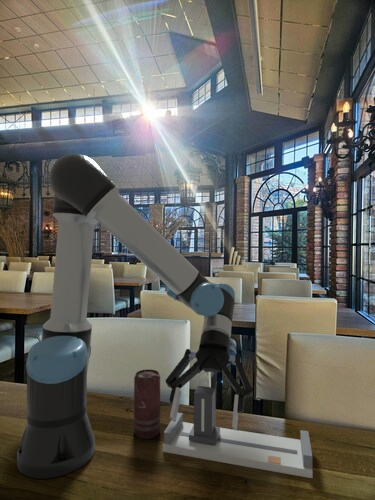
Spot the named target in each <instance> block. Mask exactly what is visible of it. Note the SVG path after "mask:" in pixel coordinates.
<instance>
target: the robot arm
mask: <svg viewBox="0 0 375 500" xmlns="http://www.w3.org/2000/svg"><path fill="white" fill-rule="evenodd" d="M49 185H50V187H51V190H52V191H53V193H54V196H53V207H52V209H53V210H52V216H53V217H54V218H55V220H57V222H58V225H57V226H58V227H57V237H56V248H55V249H56V251H55V259H54V260H55V262H54V273H53V281H52V283H53V285H52V296H51V306H50V318H49V319H48V320H47V321H46V322H45V323H43V325H42V331H41V332H42V333H41V340H40V341H37V342H36V343H35V344H33V345H32V346H31V347H30V348H29V351H28V352H27V359H26V362H25V368H26V425H25V427H24V430H23V434H22V437H21V440H20V443H19V446H18V449H17V452H16V466H17V467H16V468H17V470H18V471H19V472H20V473H21V474H22V475H24V476H25V477H28V478H32V479H39V480H40V479H53V478H58V477H62V476H66V475H68V474H70V473H72V472H74V471H77V470H78V469H80V468H82V467H83V466H85V465H86V464H87V463H88V462H89V461H90V460H91V458H92V457H93V455H94V453H95V451H96V447H95V446H96V440H95V439H96V438H95V433H94V432H93V429H92V425H91V421H90V419H89V416H88V413H87V411H88V410H87V405H88V402H87V400H88V399H87V397H88V396H87V393H88V391H87V390H88V389H87V387H88V386H87V385H88V383H87V382H88V381H87V380H88V369H89V362H90V357H91V355H92V345H91V342H92V330H93V329H92V328H93V325H92V323H90V321H89V320H88V318H87V317H88V316H87V315H88V305H89V303H88V302H89V293H90V284H91V283H90V282H91V281H90V280H91V270H92V260H93V259H92V258H93V257H92V256H93V246H94V237H95V236H94V235H95V226H96V225H97V224H98V223H99V224H100V225H101V226H102V227H103V228H104V229H105V230H106V231H108V233H110V234H111V235H112V237H114V238H115V239H116V240H117V241H118V242H119V243H120V244H121V245H123V247H125V248H126V249H127V250H128V251H129V252H130V253H131V254H132V255H133V256H134V257H136V258H137V259H138V261H140V262H141V263H142V264H143V265H144V266H145V267H146V268H147V269H149V271H151V272H152V273H153V275H155V276H156V277H157V278H158V279H159V280H160V281H161V282H162V283H163V284H164V285H166V291H165V292H166V295H167V296H168V297H170V298H172V299H173V300H174V301H178V302H180V303H182V304H183V305H185V306H186V307H188V308H190V309H191V310H192V311H193V312H194V313H195V314H197V315H198V316H202V317H204V318H203V323H202V328H201V329H202V330H201V335H200V340H199V345H198V350H197V351H192V350H191V349H190V348H186V349H185V351H184V354H183V357H182V358H181V359H180V361H179V362H178V363H177V365H176V366H175V367H174V369H173V370H172V371H171V372H170V373H169V375H168V376H167V378H165V383H166V385H167V387H168V388H170V389H171V391H170V395H169V399H168V400H169V403H170V404H171V410H170V414H169V418H170V419H171V420H172V421H175V422H176V417H177V412H178V411H179V406H180V403H181V398H182V390H181V388H183V387H184V386H185V385H186V384H188V382H190V381H191V380H192V379H193V378H194V377H195V376H196V375H198V374H201V372H203V371H204V372H205V373H211V372H212V373H213V374H218V373H219V372H221V374H222V375H223V376H224V378H225V379H226V380H227V382H228V383H229V385H230V386H231V388H232V389H233V391H234V392H235V393H236V394H234V400H233V401H234V402H233V411H232V421H231V422H232V423H231V425H232V430H235V431H237V430H238V421H239V419H238V418H239V414H243V413H244V407H245V399H248V398H252V397H253V394H254V393H253V389H252V386H251V384H250V381H249V379H248V376H247V375H246V372H245V369H244V367H243V365H242V359H241V354H240V353H235V355H230V353H229V352H230V344H231V335H232V324H233V316H234V309H235V304H236V302H235V301H236V300H235V299H236V296H235V295H236V294H235V290H234V288H233V287H232V286H231V285H229V284H227V283H222V282H216V283H214V282H211V281H209V280H208V279H207V277H205V275H203V274H202V273H201V272H200V271H199V270H198V269H197V268H196V267H195V266H194V265H193V264H192V263H191V262H190V261H189V260H188V259H187V258H186V257H185V256H183V254H181V252H179V250H177V248H175V247H174V246H173V245H172V244H171V242H169V241H168V239H166V238H165V237H164V236H163V235H162V234H161V233H160V232H159V231H158V230H157V229H156V228H155V227H154V226H153V225H151V223H150V222H149V221H148V220H147V219H146V218H145V217H143V215H141V213H140V212H139V211H138V210H137V209H135V208H134V207H133V206H132V205H131V204H130V203H129V202H128V201H127V200H126V199H125V198H124V197H123V196H122V195H121V193H120V189H119V186H118V185H117V184H116V183H115V182H114V181H113V179H111V178H110V177H109V175H107V174H106V172H105V171H104V170H103V169H102V168H101V166H99V164H98V163H97V162H96V161H94V160H93V159H92V158H90V157H88V156H87V155H84V154H80V153H70V154H69V153H68V154H66V155H64V156H61V157H59V158H58V159H57V160H56V161H55V162H54V164H53V165H52V167H51V169H50V173H49ZM194 359H196V361H195V362H194V363H193V364H192V366H190V367H189V368H188V366H189V365H190V363H191V362H192V361H194ZM231 362H232V365H233V366H235V368H236V371H237V373H238V376H239V378H240V380H241V383H242V386H243V387H244V389H243V388H242V387H241V385H240V384H239V383H238V381H237V380H236V378H235V377H234V375H233V374H232V373H231V371H230V370H229V367H228V366H227V365H228V364H229V363H231ZM186 368H188V369H186ZM184 371H185V372H184ZM178 413H179V412H178ZM171 420H170V421H171Z"/></svg>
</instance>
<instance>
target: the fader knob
mask: <svg viewBox="0 0 375 500" xmlns="http://www.w3.org/2000/svg"><path fill="white" fill-rule="evenodd" d="M216 392H217V391H216V387H211V386H202V385H198V386H197V387H196V389H195V391H194V392H193V424H194V425H193V427H192V429H191V431H190V433H189V441H195V442H201V443H207V444H213V445H216V444H217V440H218V437H219V434H220V428H221V427H220V426H217V425H216Z"/></svg>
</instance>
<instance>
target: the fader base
mask: <svg viewBox="0 0 375 500" xmlns="http://www.w3.org/2000/svg"><path fill="white" fill-rule="evenodd" d="M183 420H184V413H182V412H177V417H176V422H175V421H172V420H170V422H169V423H168V425H167V427H166V428H165V430H164V431H163V444H162V452H164V453H169V454H173V455H174V454H175V455H180V456H184V457H189V458H190V457H191V458H196V459H201V460H206V461H207V460H208V461H212V462H213V461H214V462H219V463H223V464H224V463H225V464H230V465H235V466H239V467H240V466H242V467H246V468H251V469H252V468H253V469H258V470H264V471H267V472H268V471H269V472H274V473H281V474H286V475H291V476H296V477H304V478H308V479H313V478H314V477H313V473H314V472H313V470H314V469H313V453H312V446H311V441H310V434H309V431H308V430H304V429H303V430H301V429H300V431H299V432H300V438H299V439H297V438H291V437H284V436H277V435H270V434H264V433H258V432H253V431H252V432H250V431H246V430H245V431H244V430H238V429H237V431H235V430H233V428H232V429H230V428H224V427H220V434H219V437H218V440H217V444H216V445H213V444H207V443H201V442H195V441H189V433H190V431H191V429H192V427H193V425H194V423H192V422H191V423H190V422H185V421H183Z"/></svg>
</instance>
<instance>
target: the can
mask: <svg viewBox="0 0 375 500" xmlns="http://www.w3.org/2000/svg"><path fill="white" fill-rule="evenodd" d="M133 378H134V379H133V385H134V387H133V388H134V389H133V391H134V392H133V396H134V398H133V433H134V434H135V436H136V437H137V438H139V439H142V440H148V439H153V438H155V437H156V436H158V434H159V433H160V431H161V375H160V372H159V371H158V370H155V369H142V370H139V371H137V372H136V373H135V376H133Z"/></svg>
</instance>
